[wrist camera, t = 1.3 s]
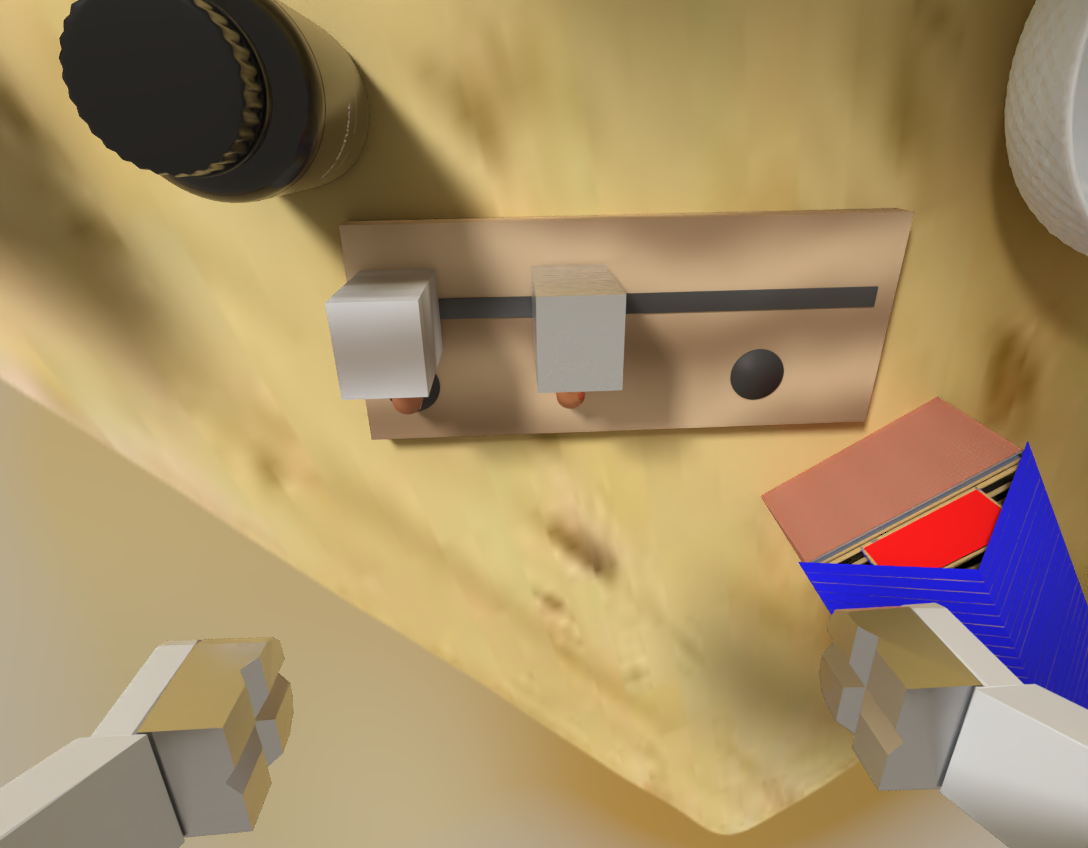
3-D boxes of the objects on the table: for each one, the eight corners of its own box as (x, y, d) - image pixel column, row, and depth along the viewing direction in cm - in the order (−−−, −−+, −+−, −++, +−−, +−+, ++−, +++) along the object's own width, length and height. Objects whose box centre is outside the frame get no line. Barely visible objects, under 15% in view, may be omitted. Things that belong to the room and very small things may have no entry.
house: (939, 387, 35) (1123, 498, 25) (1030, 603, 43) (1199, 758, 32) (752, 493, 38) (846, 634, 27) (869, 679, 45) (978, 845, 35)
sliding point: (531, 266, 29) (535, 296, 23) (604, 264, 29) (626, 294, 24) (534, 396, 32) (539, 450, 26) (601, 394, 32) (619, 447, 26)
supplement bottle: (388, 176, 29) (315, 204, 18) (244, 195, 29) (83, 235, 18) (351, 1, 26) (235, -94, 15) (190, 23, 26) (-43, -56, 15)
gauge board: (346, 221, 29) (294, 249, 22) (896, 208, 30) (1012, 231, 23) (377, 427, 34) (342, 504, 27) (851, 410, 35) (937, 479, 28)
